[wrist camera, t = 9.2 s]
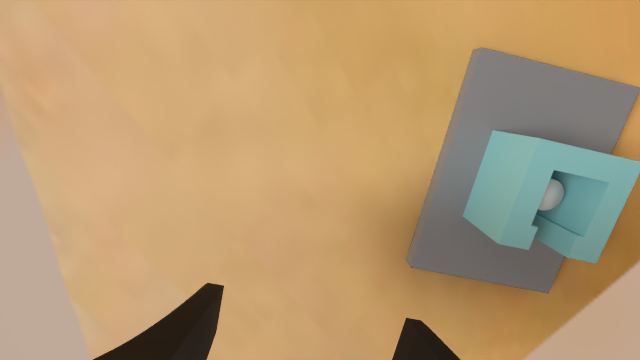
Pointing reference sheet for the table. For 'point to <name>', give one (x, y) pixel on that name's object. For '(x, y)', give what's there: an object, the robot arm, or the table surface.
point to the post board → (517, 118)
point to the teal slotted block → (530, 185)
